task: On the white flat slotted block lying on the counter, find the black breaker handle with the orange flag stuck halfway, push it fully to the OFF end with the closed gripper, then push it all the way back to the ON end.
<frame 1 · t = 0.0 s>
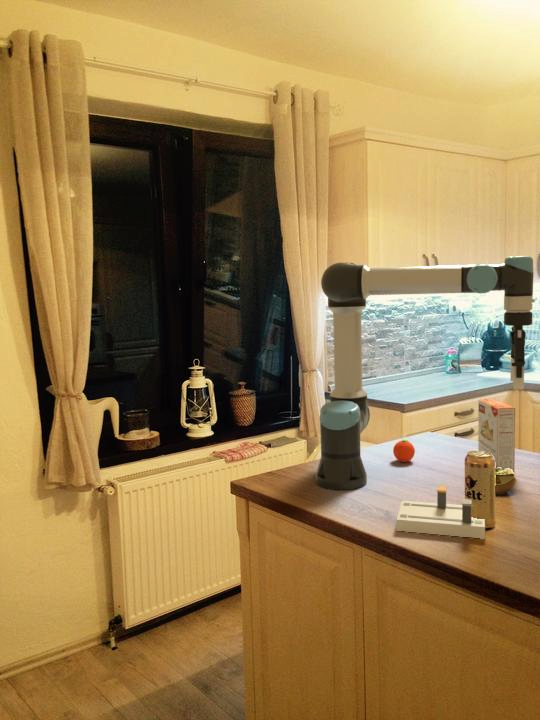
hand: (516, 385, 181), 28 cm above the counter, tool pointing down, fingers open, 13 cm apart
clementine: (404, 461, 206), on the counter
white flat slotted block: (441, 524, 153), on the counter
tripped breaker: (441, 497, 156), point 6 cm above the counter, slide at 6.0 cm
on breaker: (466, 510, 147), point 6 cm above the counter, slide at 12.0 cm
cracker box: (495, 469, 195), on the counter
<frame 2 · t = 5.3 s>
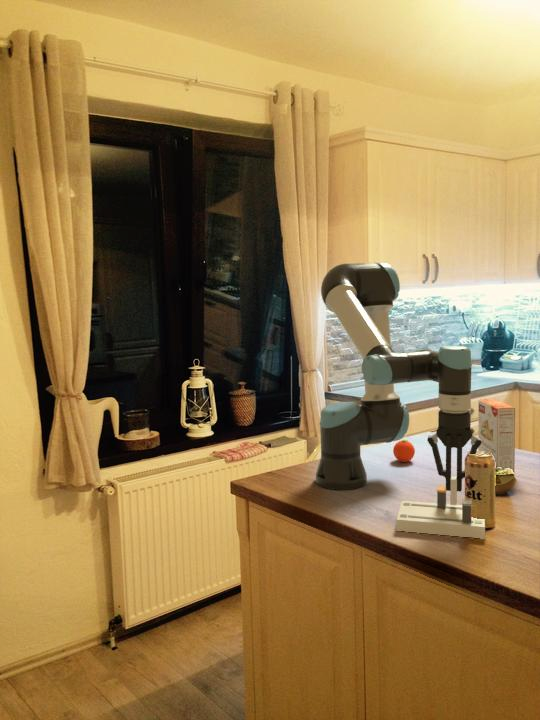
hand: (453, 503, 156), 4 cm above the counter, tool pointing down, fingers closed
tripped breaker: (441, 497, 156), point 6 cm above the counter, slide at 6.0 cm, touching gripper
everything else where it was.
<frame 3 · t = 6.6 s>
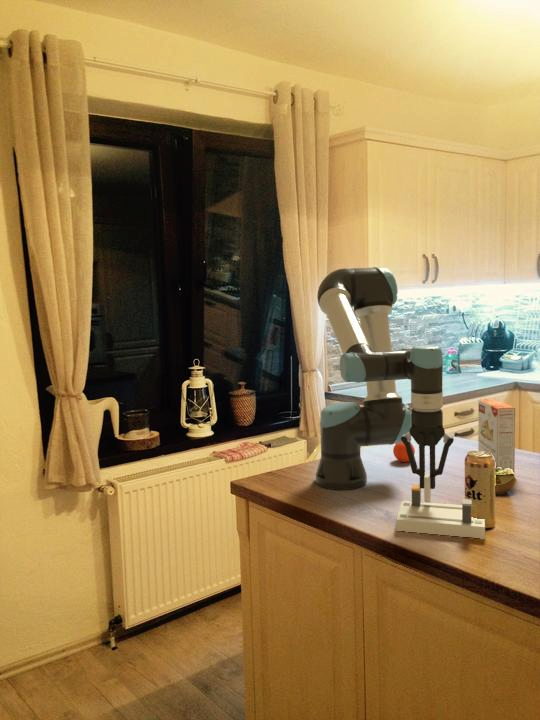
hand: (427, 500, 158), 4 cm above the counter, tool pointing down, fingers closed
tripped breaker: (416, 495, 158), point 6 cm above the counter, slide at -0.2 cm, touching gripper
everything else where it was.
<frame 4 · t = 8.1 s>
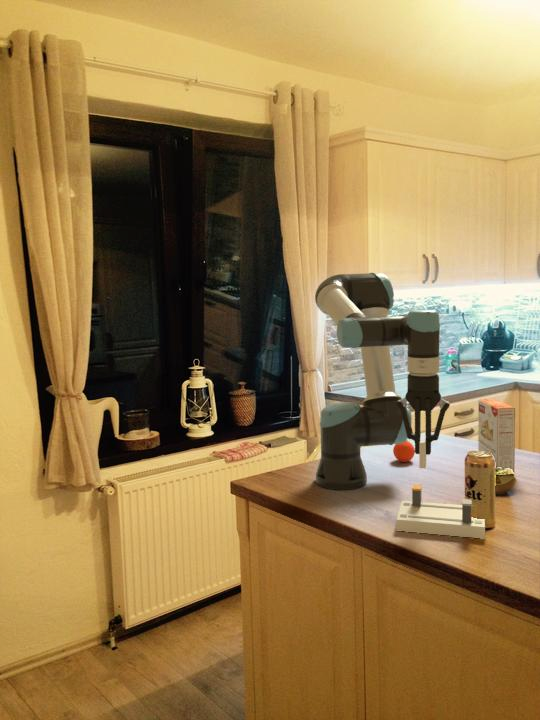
hand: (422, 466, 157), 13 cm above the counter, tool pointing down, fingers closed
tripped breaker: (416, 495, 158), point 6 cm above the counter, slide at -0.1 cm
everything else where it was.
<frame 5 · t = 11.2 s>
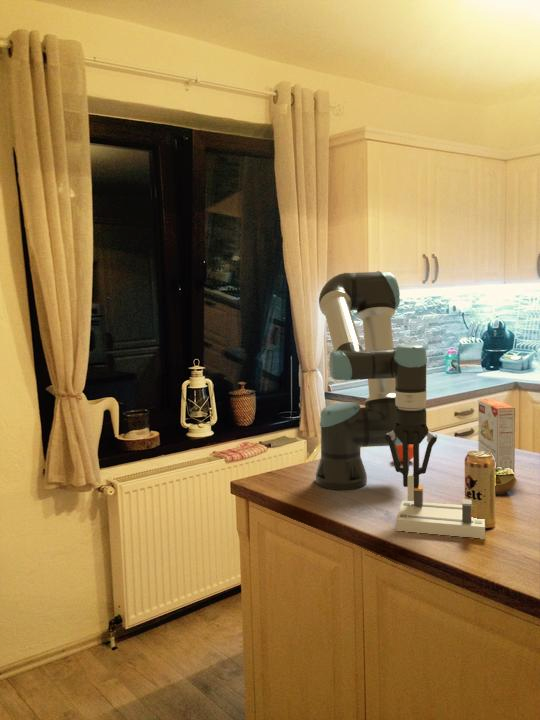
hand: (411, 499, 159), 5 cm above the counter, tool pointing down, fingers closed
tripped breaker: (418, 495, 158), point 6 cm above the counter, slide at 0.3 cm, touching gripper
everything else where it was.
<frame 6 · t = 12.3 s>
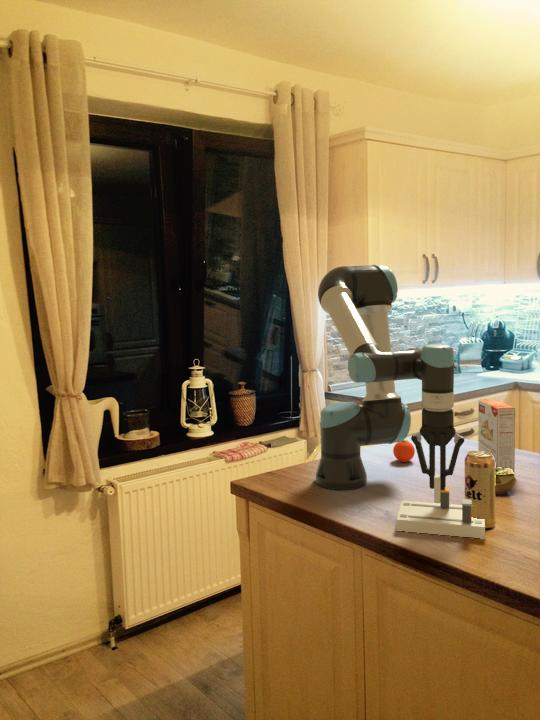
hand: (437, 501, 157), 5 cm above the counter, tool pointing down, fingers closed
tripped breaker: (445, 497, 156), point 6 cm above the counter, slide at 6.8 cm, touching gripper
everything else where it was.
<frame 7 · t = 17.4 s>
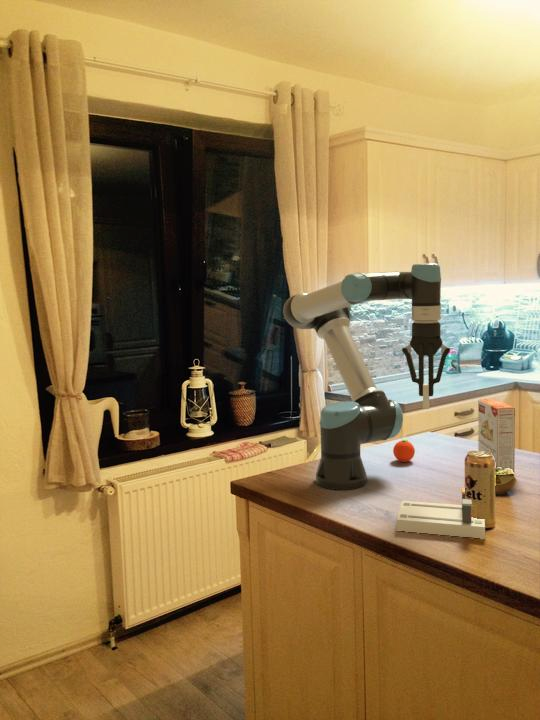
hand: (426, 407, 172), 24 cm above the counter, tool pointing down, fingers closed
tripped breaker: (466, 498, 155), point 6 cm above the counter, slide at 11.8 cm
everything else where it was.
at the end: tripped breaker slide at 11.8 cm; on breaker slide at 12.0 cm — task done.
